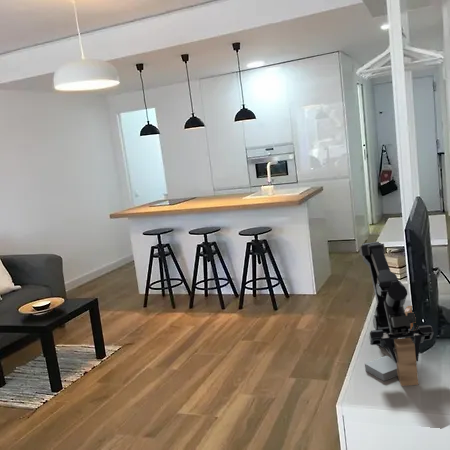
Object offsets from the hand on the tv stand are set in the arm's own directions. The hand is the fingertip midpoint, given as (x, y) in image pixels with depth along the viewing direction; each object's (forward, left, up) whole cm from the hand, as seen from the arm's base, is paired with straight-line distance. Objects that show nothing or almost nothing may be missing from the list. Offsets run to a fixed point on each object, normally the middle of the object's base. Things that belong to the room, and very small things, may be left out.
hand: (406, 361), depth 153 cm
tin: (-28, -29, -7) cm, 41 cm away
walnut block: (-1, -1, -7) cm, 7 cm away
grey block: (0, -10, -7) cm, 12 cm away
